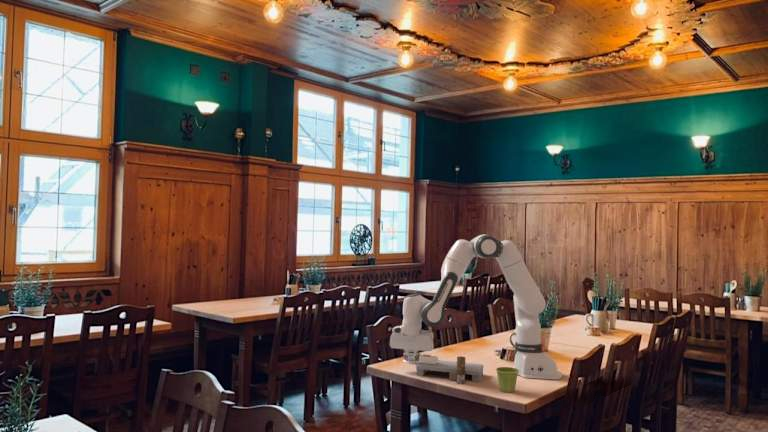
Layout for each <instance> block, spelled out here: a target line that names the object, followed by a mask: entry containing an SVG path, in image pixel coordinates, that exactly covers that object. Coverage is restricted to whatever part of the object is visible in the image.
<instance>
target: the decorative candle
mask: <svg viewBox="0 0 768 432" xmlns="http://www.w3.org/2000/svg"><path fill="white" fill-rule="evenodd" d="M421 326H422V323H421ZM402 350H403V354H402V355H403V356H402V358H403V360H402V362H403V363H406V364H418V363H419V356H420V355H421V351H420V350H417V353H416V354H415V359H414V360H412V359H408V355H407V353H406V349H402ZM409 353H410V355H413V354H414V352H413V350H410V351H409Z"/></svg>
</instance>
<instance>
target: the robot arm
mask: <svg viewBox="0 0 768 432" xmlns="http://www.w3.org/2000/svg"><path fill="white" fill-rule="evenodd" d="M522 256H523V255H522V254H521V253H520V251H519V249H518V247H517V246H516V244H515V243H514V242H513V241H512V240H509V239H504V240H501V241H500V240H499V239H497V238H496V237H495V236H492V235H490V234H485V233H484V234H479V235H475V237H473V238H472V239H470V240H468V239H467V240H466V239H464V238H463V239H458V240H456V241H455V242H454V243H453V245H452V246H451V247H450V249H449V250H448V253H447V254H446V255H445V258H444V260H443V262H442V265H441V269H440V273H441V274H440V276H441V279H440V285H439V287H438V288H437V290H436V293H435V294H434V296H433V298H432V300H429V299H428V298H425V297H424V296H422V295H421V294H419V293H411V294H408V295H406V296H405V297H404V299H403V301H402V302H403V303H402V316H403V318H402V323H401V324H400V325H396V326H394V327H392V329H391V331H392V333H391V335H390V339H389V346H390V348H391V349H396V350H397V349H399V350H404V349H406V353H407V355H408V359H412V360H414V359H415V354H416V353H417V350H420V352H421V351H423V352H431V351H433V350H434V338H435V337H434V332H433V331H431V330H429V329H428V330H425V329H422V325H421V324H422V322H423V324H425V326H427V327H430V328H436V327H439V326H441V324H442V323H443V322H444V320H445V317H446V316H445V313H446V312H445V311H446V307H447V304H448V302H449V300H450V299H451V296H452V294H453V291H454V290H455V287H456V286H457V284H458V283H459V282H460V280H461V279H462V277H463V276H464V274H465V273H466V271H467V269H468V267H469V265H470V263H471V261H472V260H473V259H474V258H476V257H478V258H480V259H493V258H494V259H495V260H496V261H497V263H498V266H499V268H500V270H501V272H502V274H503V276H504V278H505V281H506V283H507V284H508V286H509V288H510V289H511V291H512V292H513V296H512V297H513V305H514V306H513V308H514V317H515V342H514V362H513V366H512V368H516V369H518V370H519V372H518V375H517V376H520V377H522V378H525V379H542V380H561V379H562V378H563V372H561V371H560V370H558V365H557V362H556V360H555V359H553V357H551V356H550V355H549V354H547V353H546V352H545V351H546V345H545V344H543V343H541V332H542V331H541V330H542V328H541V327H542V326H541V323H540V317H539V314H541V313H543V312H544V311H545V309H546V306H547V305H546V304H547V303H546V300H545V298H544V296H543V294H542V291H540V289H539V286H538V285H537V284H536V282H535V279H534V278H533V277H532V275H531V274H530V271H529V269H528V267H527V265H526V263H525V260H524V258H523V257H522ZM410 350H413V352H414V354H413V355H410V353H409V351H410Z"/></svg>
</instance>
